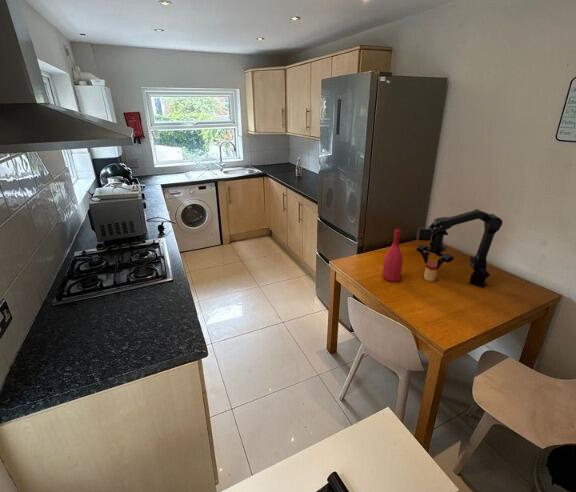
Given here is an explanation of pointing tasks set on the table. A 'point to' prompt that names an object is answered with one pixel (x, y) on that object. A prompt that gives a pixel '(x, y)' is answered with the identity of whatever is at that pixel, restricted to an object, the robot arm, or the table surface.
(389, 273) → the wine bottle
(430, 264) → the lid
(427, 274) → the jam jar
